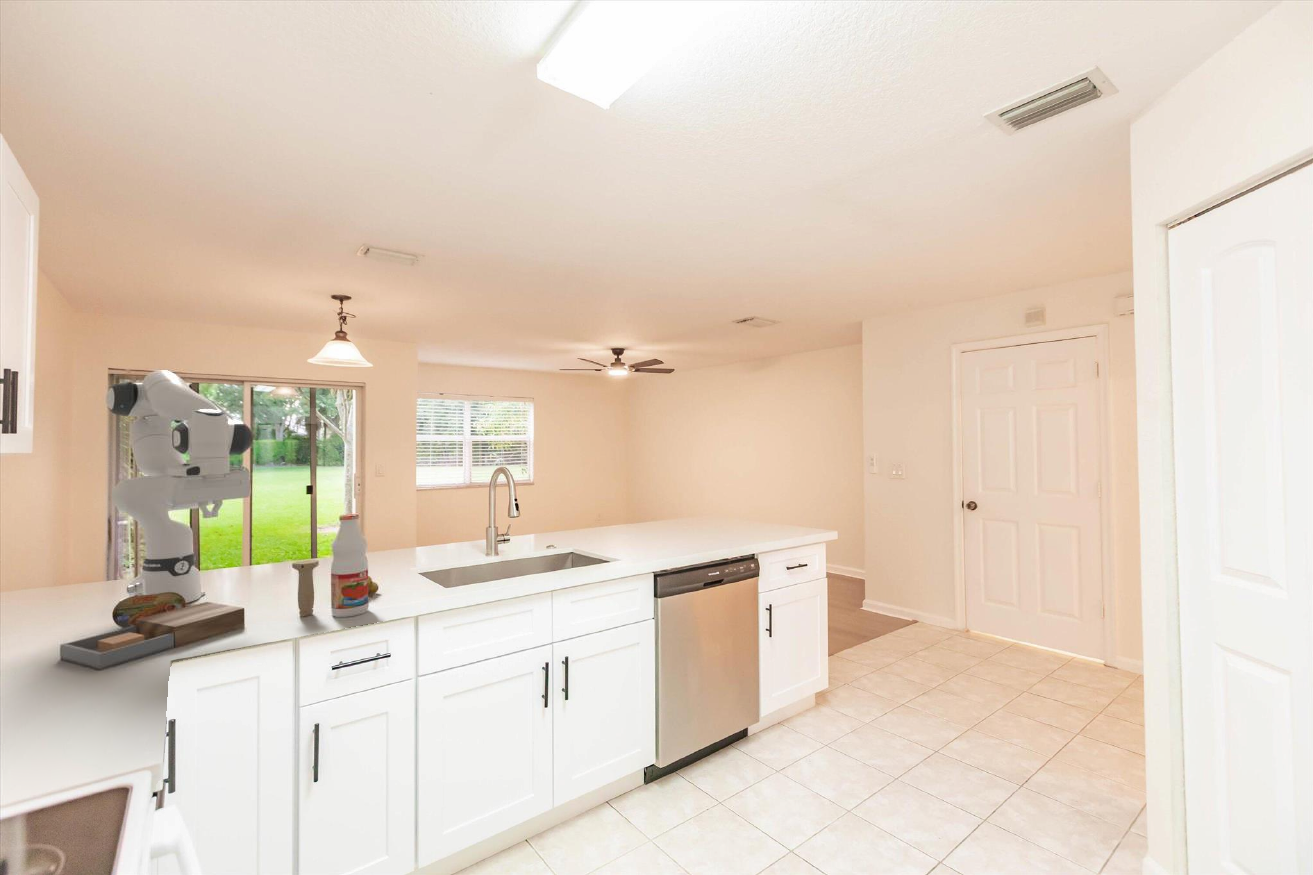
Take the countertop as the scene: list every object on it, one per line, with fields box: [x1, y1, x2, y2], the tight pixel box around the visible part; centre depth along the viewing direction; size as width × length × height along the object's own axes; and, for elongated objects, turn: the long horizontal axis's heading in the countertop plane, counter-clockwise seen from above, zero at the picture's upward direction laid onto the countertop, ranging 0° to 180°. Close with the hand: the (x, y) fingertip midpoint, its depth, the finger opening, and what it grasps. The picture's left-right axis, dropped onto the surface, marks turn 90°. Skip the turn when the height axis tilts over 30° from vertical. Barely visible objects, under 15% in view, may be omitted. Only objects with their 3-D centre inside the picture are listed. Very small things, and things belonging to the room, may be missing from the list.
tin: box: [111, 592, 187, 629], centre depth 156 cm, size 15×3×8 cm, turn 117°
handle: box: [291, 559, 320, 617], centre depth 163 cm, size 5×6×15 cm
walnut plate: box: [136, 601, 245, 648], centre depth 149 cm, size 16×16×5 cm
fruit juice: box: [330, 513, 370, 618], centre depth 165 cm, size 9×9×28 cm
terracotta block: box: [98, 632, 144, 652], centre depth 135 cm, size 6×6×3 cm
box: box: [59, 626, 175, 671], centre depth 135 cm, size 16×14×4 cm
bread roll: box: [368, 575, 379, 596], centre depth 181 cm, size 13×10×8 cm
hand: (210, 517), depth 160 cm, fingers closed
